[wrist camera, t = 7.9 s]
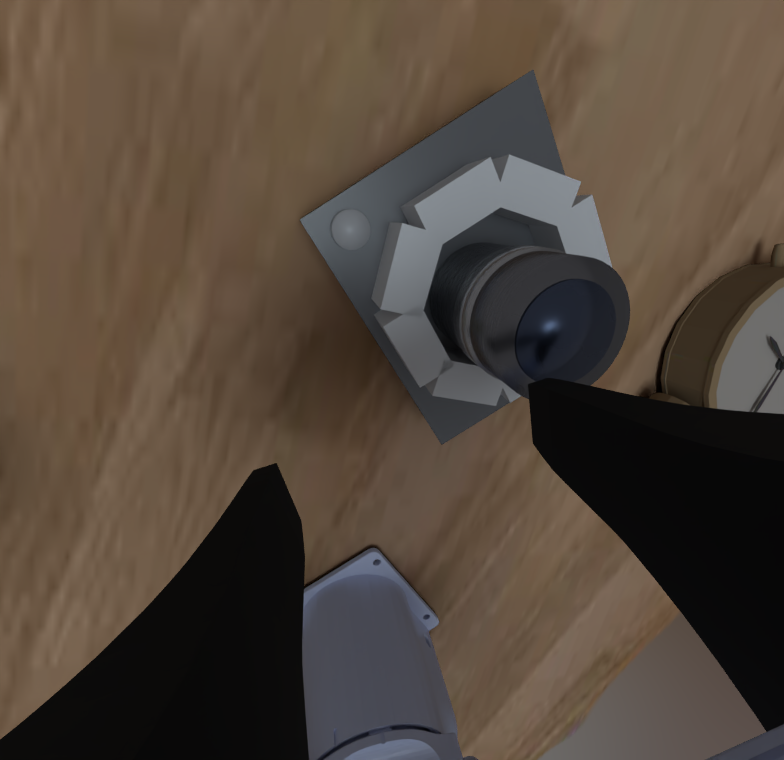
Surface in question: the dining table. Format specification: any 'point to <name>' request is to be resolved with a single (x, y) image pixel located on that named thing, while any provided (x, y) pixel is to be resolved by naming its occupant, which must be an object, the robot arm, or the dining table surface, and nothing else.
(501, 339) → the lens
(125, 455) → the dining table surface
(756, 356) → the alarm clock
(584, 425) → the robot arm
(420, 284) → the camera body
